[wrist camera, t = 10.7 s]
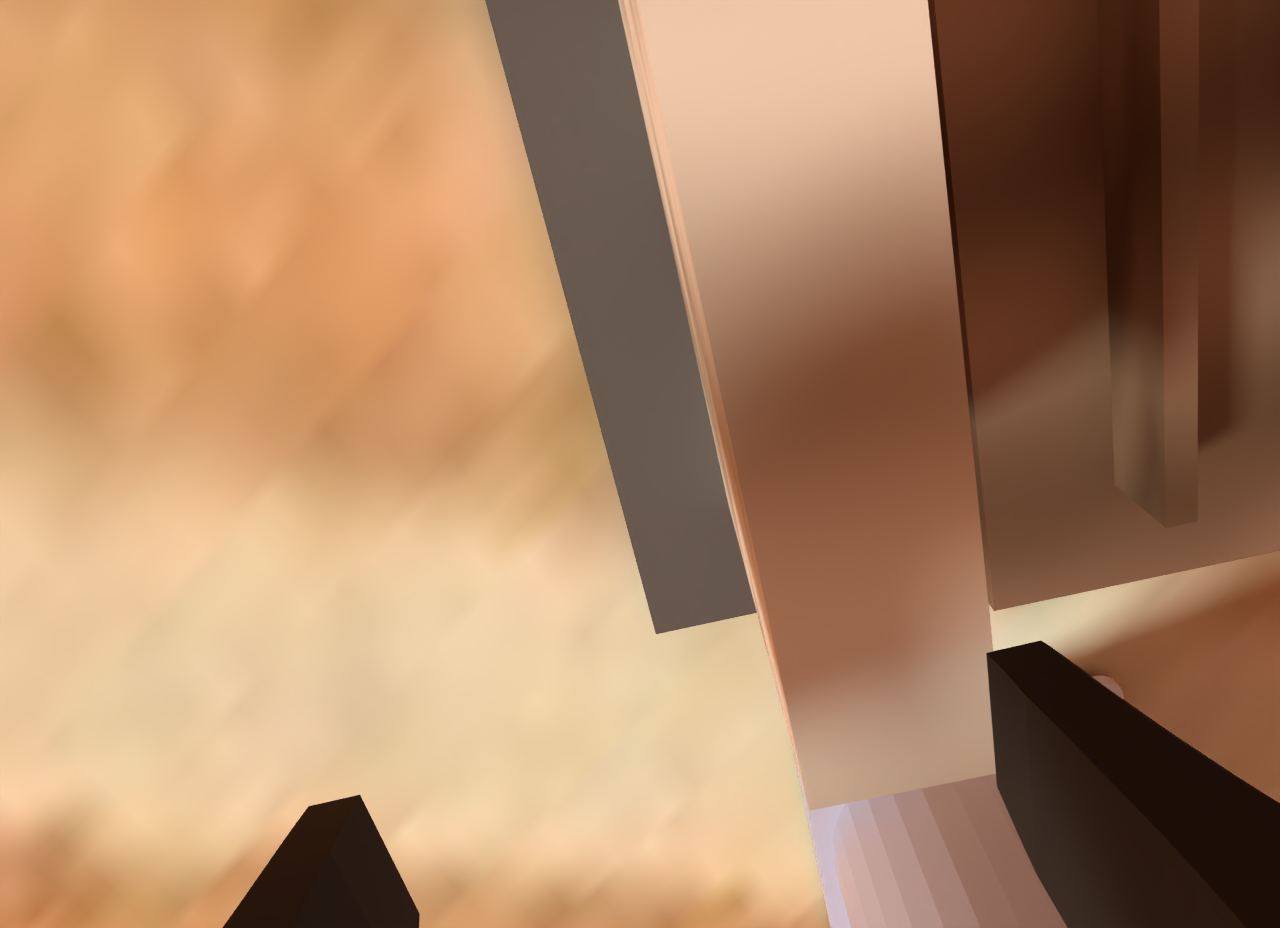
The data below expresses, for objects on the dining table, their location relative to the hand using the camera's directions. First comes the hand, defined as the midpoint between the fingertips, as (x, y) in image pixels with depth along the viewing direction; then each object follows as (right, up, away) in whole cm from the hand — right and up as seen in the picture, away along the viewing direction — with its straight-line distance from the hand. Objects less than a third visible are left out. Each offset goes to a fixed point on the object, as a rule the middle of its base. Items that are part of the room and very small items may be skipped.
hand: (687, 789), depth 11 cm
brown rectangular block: (+1, +8, +8) cm, 11 cm away
